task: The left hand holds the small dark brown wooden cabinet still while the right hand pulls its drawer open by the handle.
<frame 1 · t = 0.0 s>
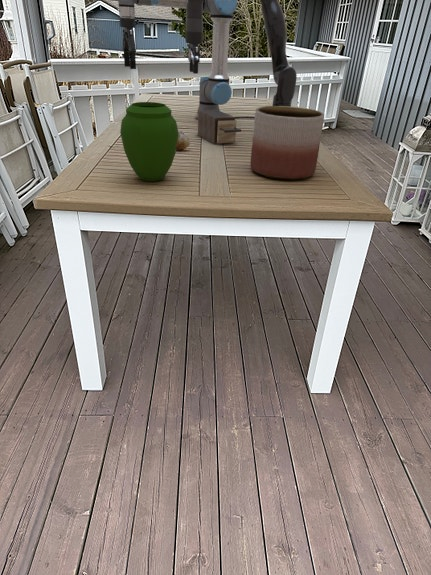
left hand: (130, 67, 208), 28 cm above the table, tool pointing down, fingers open, 13 cm apart
right hand: (193, 72, 187), 29 cm above the table, tool pointing down, fingers open, 8 cm apart
cabinet: (215, 138, 205), on the table
planter: (281, 172, 161), on the table
vase: (151, 178, 146), on the table
drawer: (221, 129, 197), point 6 cm above the table, slide at 1.8 cm
seashell: (179, 150, 183), on the table
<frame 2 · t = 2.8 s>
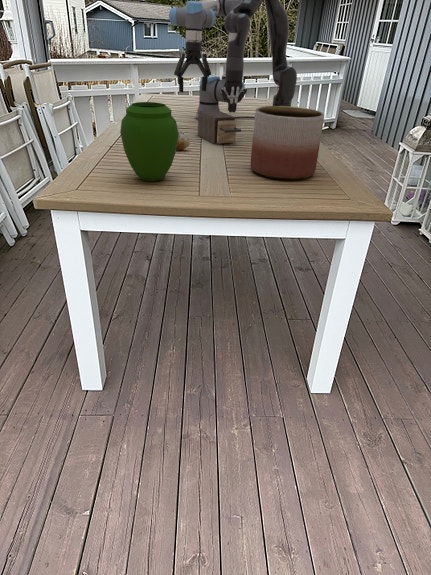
left hand: (192, 91, 202), 20 cm above the table, tool pointing down, fingers open, 13 cm apart
right hand: (231, 112, 184), 15 cm above the table, tool pointing down, fingers closed
nothing on the table moved.
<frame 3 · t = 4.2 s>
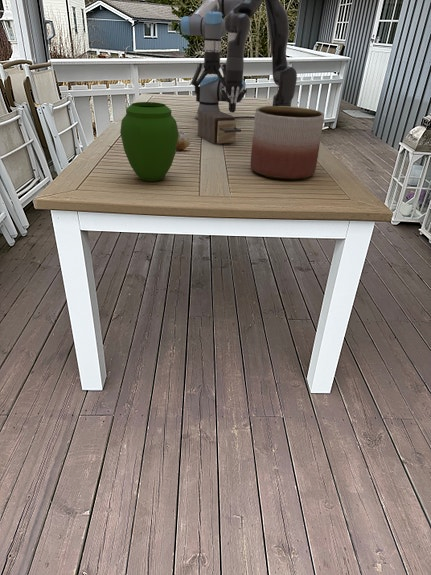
left hand: (210, 101, 201), 16 cm above the table, tool pointing down, fingers open, 13 cm apart
right hand: (231, 112, 184), 15 cm above the table, tool pointing down, fingers closed
nothing on the table moved.
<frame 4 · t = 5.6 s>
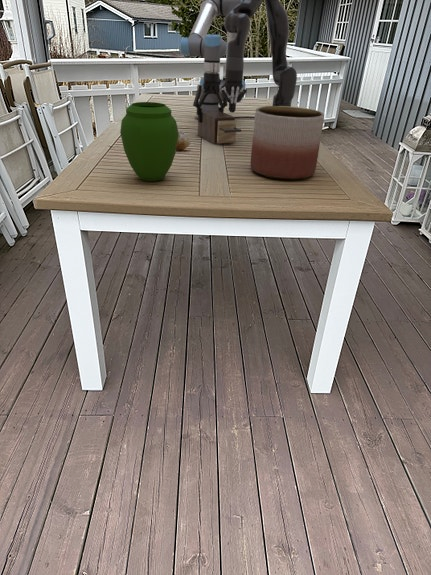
left hand: (209, 121, 206), 7 cm above the table, tool pointing down, fingers closed on cabinet, 10 cm apart
right hand: (231, 112, 184), 15 cm above the table, tool pointing down, fingers closed
cabinet: (215, 138, 205), on the table, touching left hand
everything else where it was.
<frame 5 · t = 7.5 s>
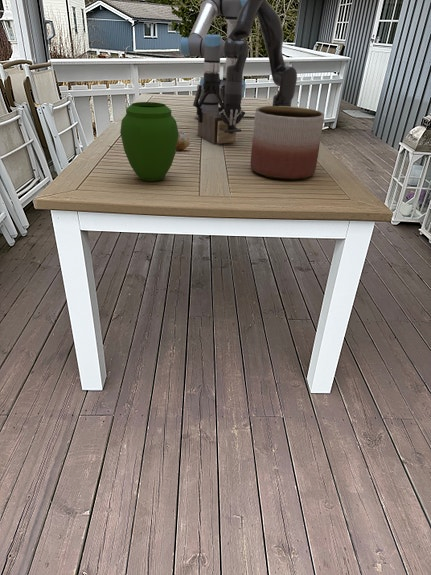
left hand: (209, 121, 206), 7 cm above the table, tool pointing down, fingers closed on cabinet, 10 cm apart
right hand: (230, 133, 189), 6 cm above the table, tool pointing down, fingers closed
cabinet: (215, 138, 205), on the table, touching left hand
drawer: (221, 129, 197), point 6 cm above the table, slide at 1.8 cm, touching right hand
everything else where it was.
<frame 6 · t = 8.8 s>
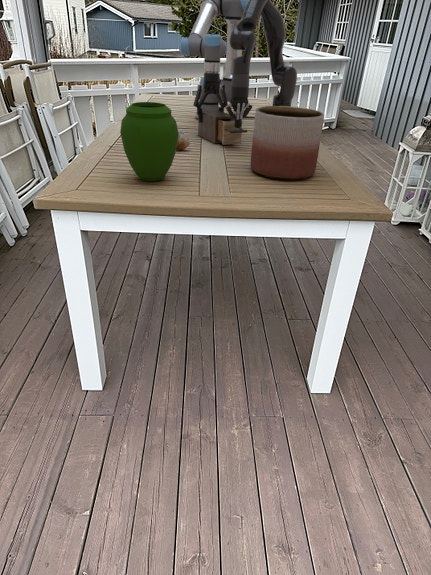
left hand: (210, 121, 206), 7 cm above the table, tool pointing down, fingers closed on cabinet, 10 cm apart
right hand: (237, 128, 183), 9 cm above the table, tool pointing down, fingers closed
cabinet: (215, 138, 205), on the table, touching left hand
drawer: (226, 130, 193), point 6 cm above the table, slide at 6.7 cm
everything else where it was.
when the left hand's fingers open (7 cm above the table, at t = 10.1 s): cabinet stays where it is, on the table.
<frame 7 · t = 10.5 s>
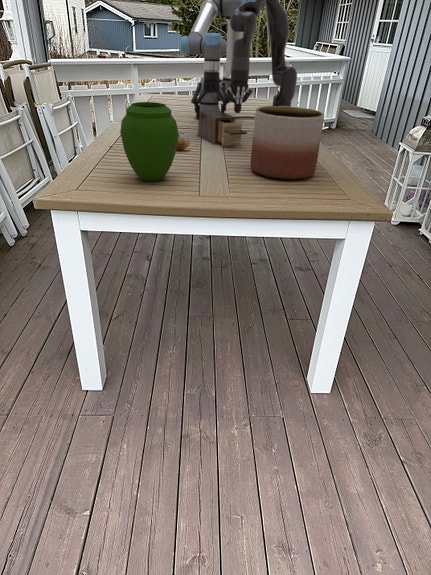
left hand: (210, 118, 206), 8 cm above the table, tool pointing down, fingers open, 13 cm apart
right hand: (237, 112, 180), 16 cm above the table, tool pointing down, fingers closed
cabinet: (215, 138, 205), on the table
everything else where it was.
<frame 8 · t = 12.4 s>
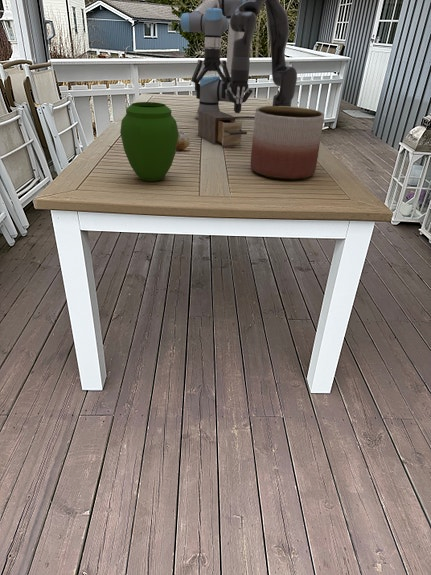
left hand: (210, 98, 201), 18 cm above the table, tool pointing down, fingers open, 13 cm apart
right hand: (237, 112, 180), 16 cm above the table, tool pointing down, fingers closed
nothing on the table moved.
at the end: drawer slide at 6.7 cm; cabinet tilted 0°; cabinet never tilted more than 2° during the clip; cabinet moved 0.2 cm from its start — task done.
